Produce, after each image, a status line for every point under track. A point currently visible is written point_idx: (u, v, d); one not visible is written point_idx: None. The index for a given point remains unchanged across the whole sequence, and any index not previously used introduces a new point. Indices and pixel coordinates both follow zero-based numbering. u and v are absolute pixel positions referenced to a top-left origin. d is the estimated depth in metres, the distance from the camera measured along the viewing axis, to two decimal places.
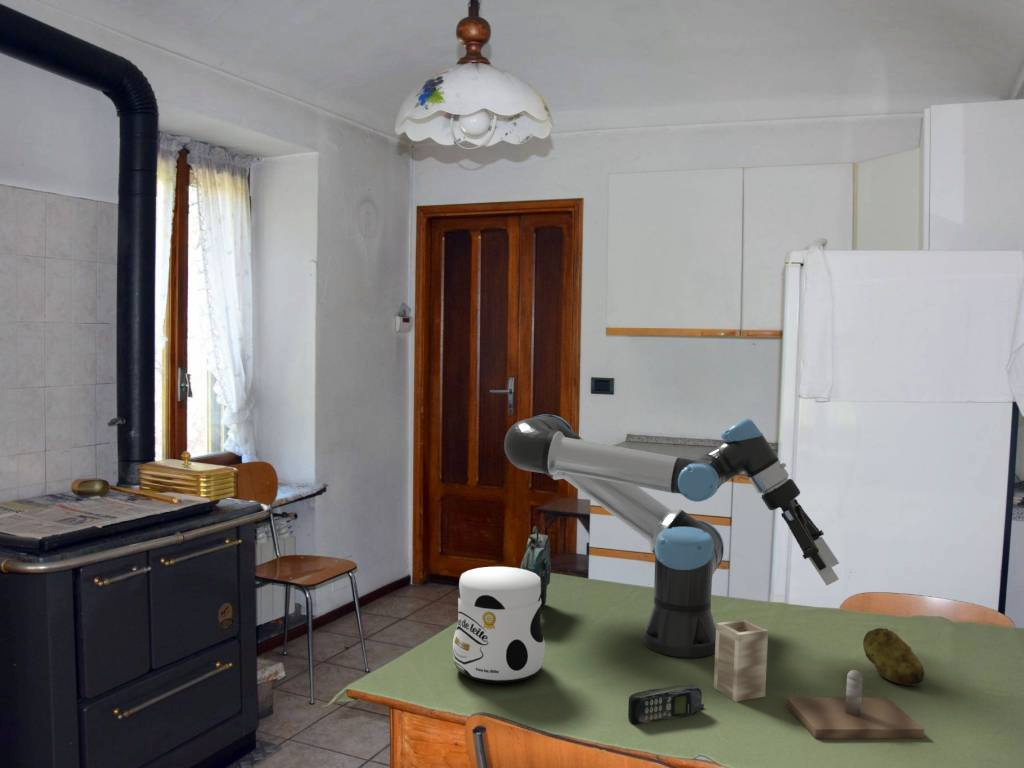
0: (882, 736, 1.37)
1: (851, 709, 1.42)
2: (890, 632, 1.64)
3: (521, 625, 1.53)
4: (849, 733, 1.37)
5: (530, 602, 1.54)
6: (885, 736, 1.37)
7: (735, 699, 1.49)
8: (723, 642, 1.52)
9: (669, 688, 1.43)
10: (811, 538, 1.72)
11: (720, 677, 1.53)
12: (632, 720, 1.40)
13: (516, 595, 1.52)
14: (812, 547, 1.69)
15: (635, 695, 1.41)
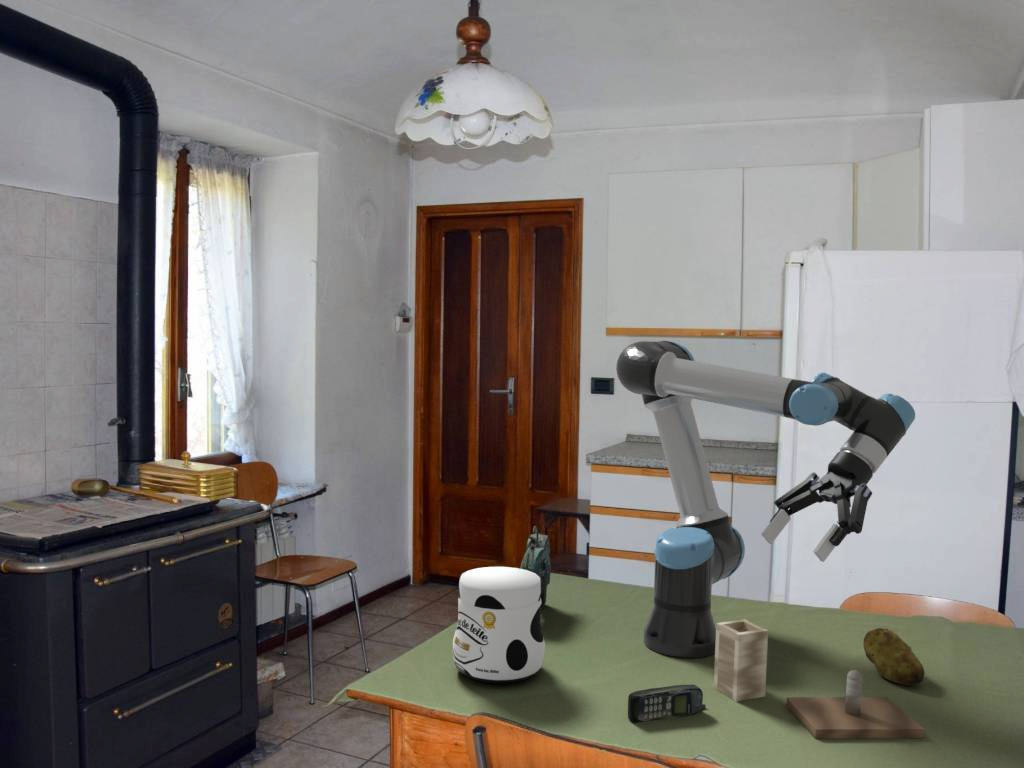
0: (882, 736, 1.37)
1: (851, 709, 1.42)
2: (890, 632, 1.64)
3: (521, 625, 1.53)
4: (849, 733, 1.37)
5: (530, 602, 1.54)
6: (885, 736, 1.37)
7: (735, 699, 1.49)
8: (723, 642, 1.52)
9: (669, 687, 1.43)
10: None
11: (720, 677, 1.53)
12: (631, 719, 1.40)
13: (516, 595, 1.52)
14: (861, 528, 1.49)
15: (634, 693, 1.41)
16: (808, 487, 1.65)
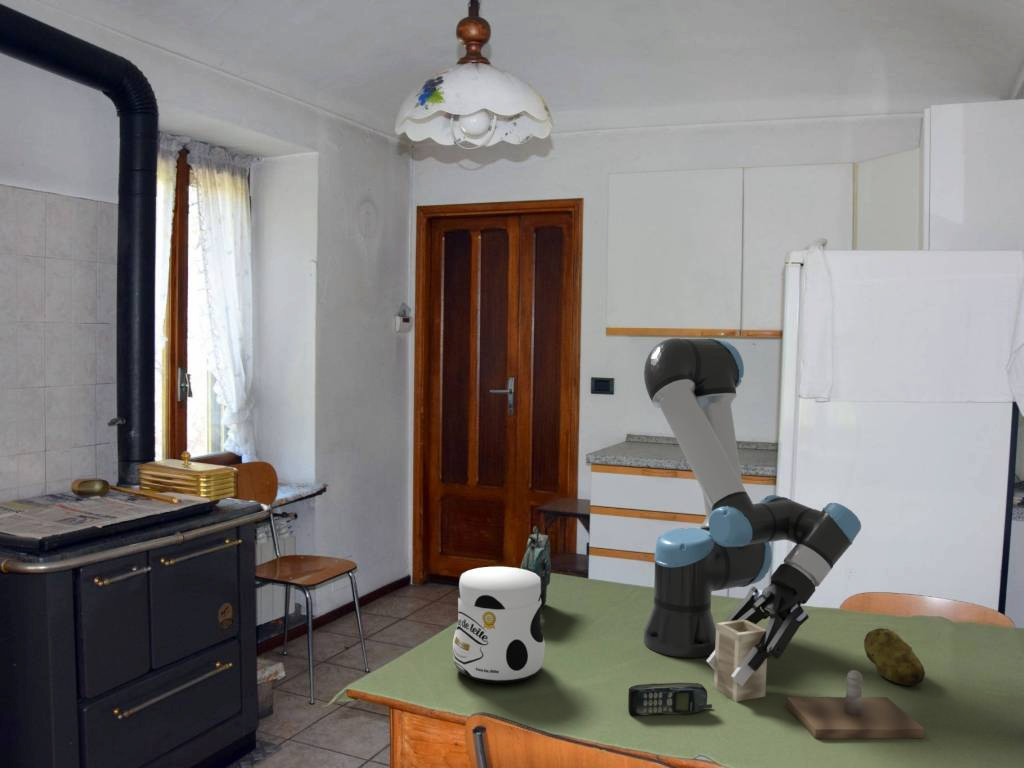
0: (882, 736, 1.37)
1: (851, 709, 1.42)
2: (891, 632, 1.64)
3: (521, 625, 1.53)
4: (849, 733, 1.37)
5: (530, 602, 1.54)
6: (885, 736, 1.37)
7: (735, 699, 1.49)
8: (723, 642, 1.52)
9: (672, 684, 1.44)
10: None
11: (720, 677, 1.53)
12: (629, 711, 1.43)
13: (516, 595, 1.52)
14: (779, 654, 1.48)
15: (635, 686, 1.44)
16: (751, 603, 1.60)
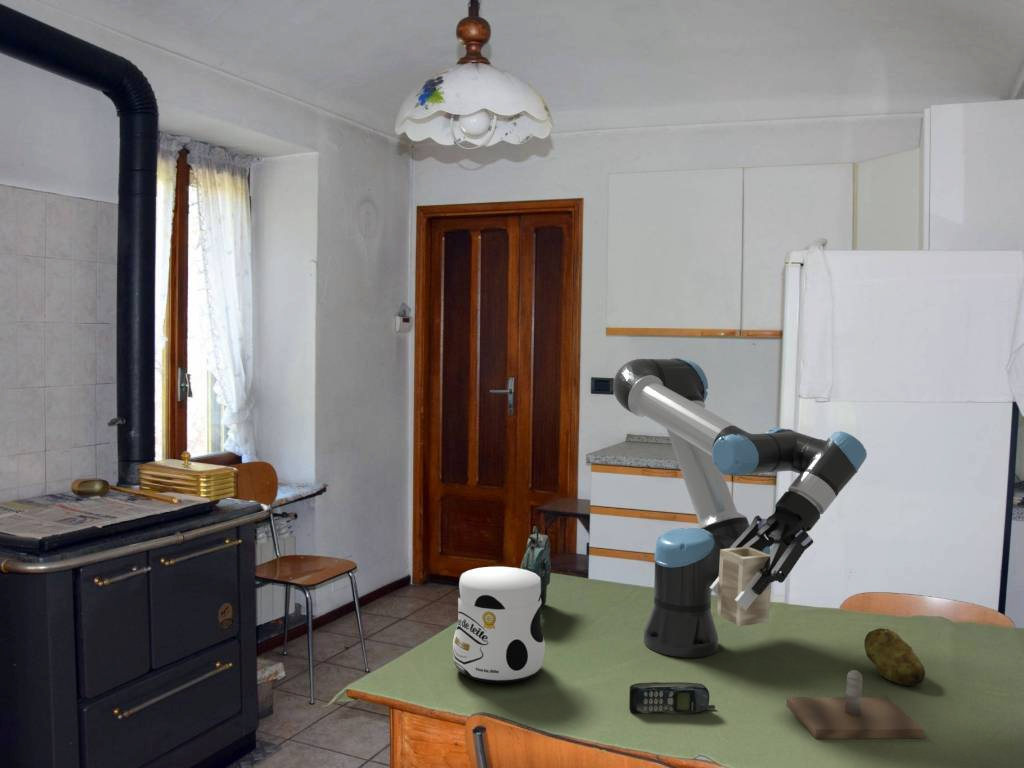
0: (882, 736, 1.37)
1: (851, 709, 1.42)
2: (891, 632, 1.64)
3: (521, 625, 1.53)
4: (849, 733, 1.37)
5: (530, 602, 1.54)
6: (885, 736, 1.37)
7: (739, 624, 1.49)
8: (727, 568, 1.52)
9: (673, 683, 1.45)
10: None
11: (723, 603, 1.52)
12: (630, 709, 1.44)
13: (516, 595, 1.52)
14: (783, 578, 1.47)
15: (636, 684, 1.45)
16: (756, 531, 1.59)
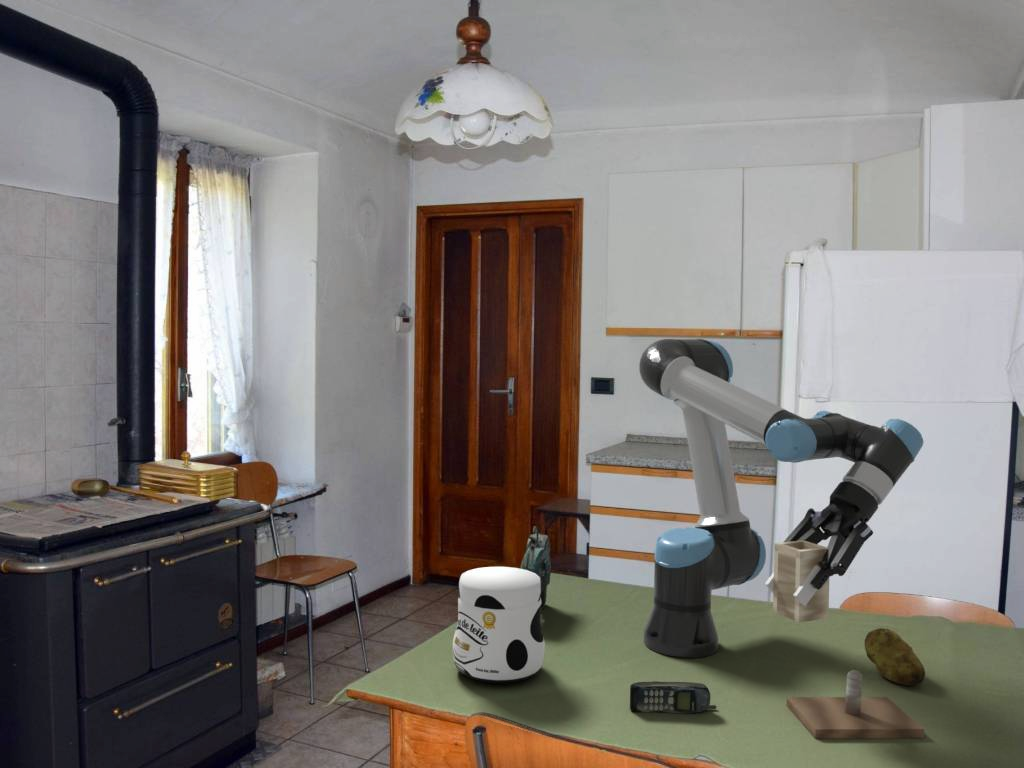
0: (882, 736, 1.37)
1: (851, 709, 1.42)
2: (891, 632, 1.64)
3: (521, 625, 1.53)
4: (849, 733, 1.37)
5: (530, 602, 1.54)
6: (885, 736, 1.37)
7: (797, 620, 1.42)
8: (782, 562, 1.45)
9: (674, 683, 1.45)
10: None
11: (780, 599, 1.46)
12: (630, 707, 1.44)
13: (516, 595, 1.52)
14: (844, 571, 1.40)
15: (636, 683, 1.45)
16: (810, 525, 1.53)
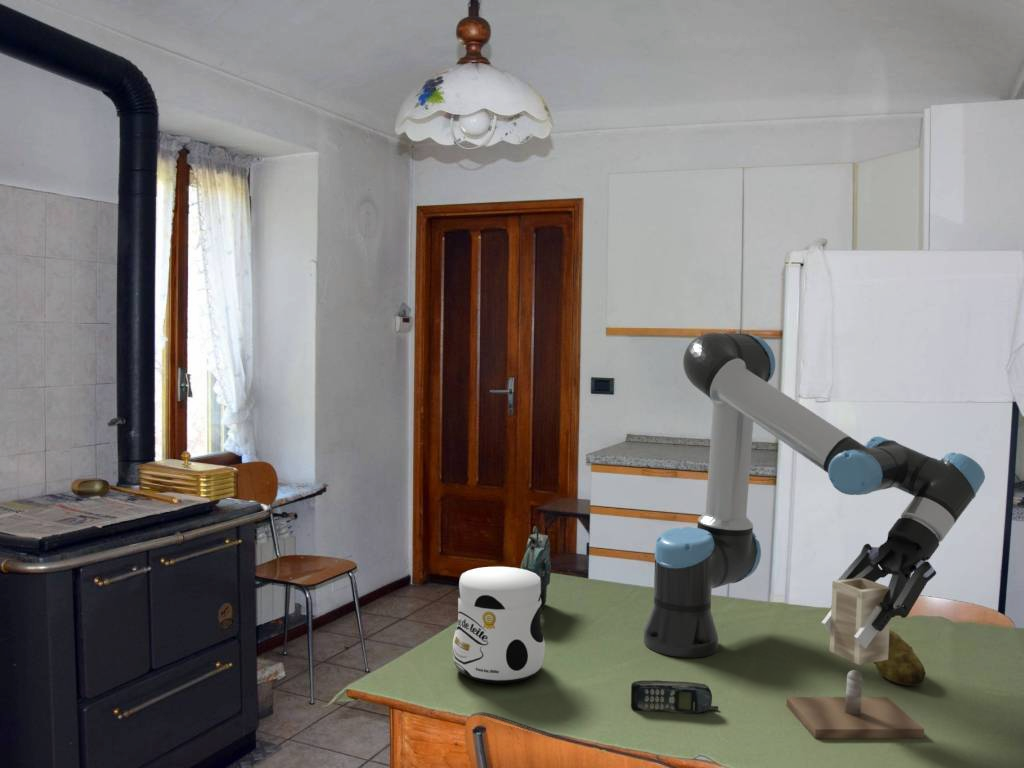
0: (882, 736, 1.37)
1: (851, 709, 1.42)
2: (891, 632, 1.64)
3: (521, 625, 1.53)
4: (849, 733, 1.37)
5: (530, 602, 1.54)
6: (885, 736, 1.37)
7: (857, 662, 1.38)
8: (842, 601, 1.41)
9: (675, 682, 1.45)
10: None
11: (838, 639, 1.42)
12: (631, 705, 1.45)
13: (516, 595, 1.52)
14: (907, 613, 1.36)
15: (637, 682, 1.46)
16: (866, 561, 1.48)
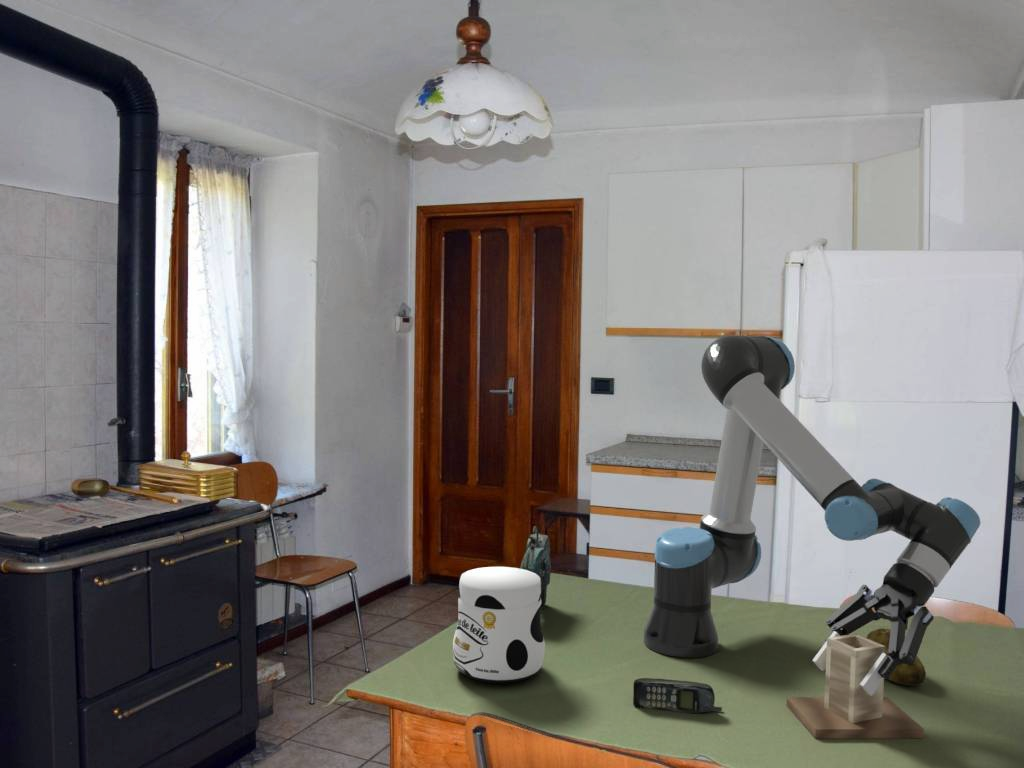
0: (882, 736, 1.37)
1: None
2: None
3: (521, 625, 1.53)
4: (849, 733, 1.37)
5: (530, 602, 1.54)
6: (885, 736, 1.37)
7: (852, 720, 1.39)
8: (836, 659, 1.42)
9: (678, 681, 1.46)
10: None
11: (832, 696, 1.43)
12: (633, 702, 1.46)
13: (517, 595, 1.52)
14: (913, 660, 1.36)
15: (640, 679, 1.47)
16: (861, 602, 1.50)
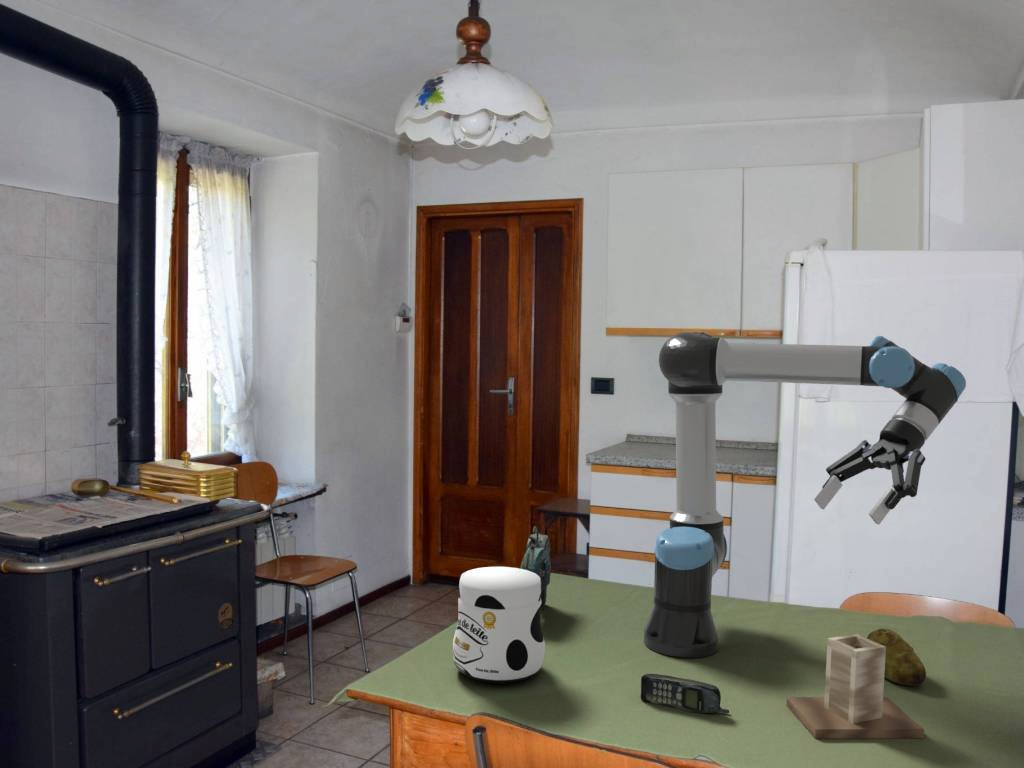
0: (882, 736, 1.37)
1: None
2: (893, 633, 1.64)
3: (521, 625, 1.53)
4: (849, 733, 1.37)
5: (530, 602, 1.54)
6: (885, 736, 1.37)
7: (852, 721, 1.39)
8: (836, 659, 1.42)
9: (685, 680, 1.46)
10: None
11: (832, 696, 1.43)
12: None
13: (516, 595, 1.52)
14: (915, 492, 1.53)
15: (649, 674, 1.49)
16: (859, 454, 1.69)
